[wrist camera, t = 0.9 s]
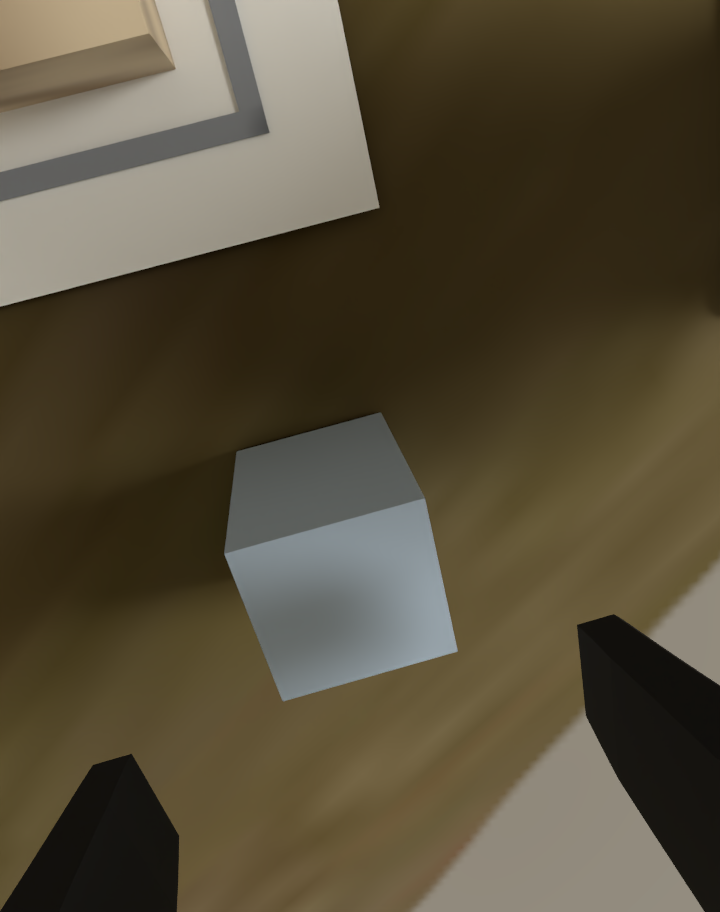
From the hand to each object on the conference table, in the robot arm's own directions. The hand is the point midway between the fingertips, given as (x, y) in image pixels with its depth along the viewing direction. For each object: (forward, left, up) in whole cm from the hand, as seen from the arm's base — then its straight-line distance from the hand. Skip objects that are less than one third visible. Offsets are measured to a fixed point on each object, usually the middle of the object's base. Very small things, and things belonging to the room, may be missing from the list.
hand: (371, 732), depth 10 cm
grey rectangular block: (0, 0, -8) cm, 8 cm away
